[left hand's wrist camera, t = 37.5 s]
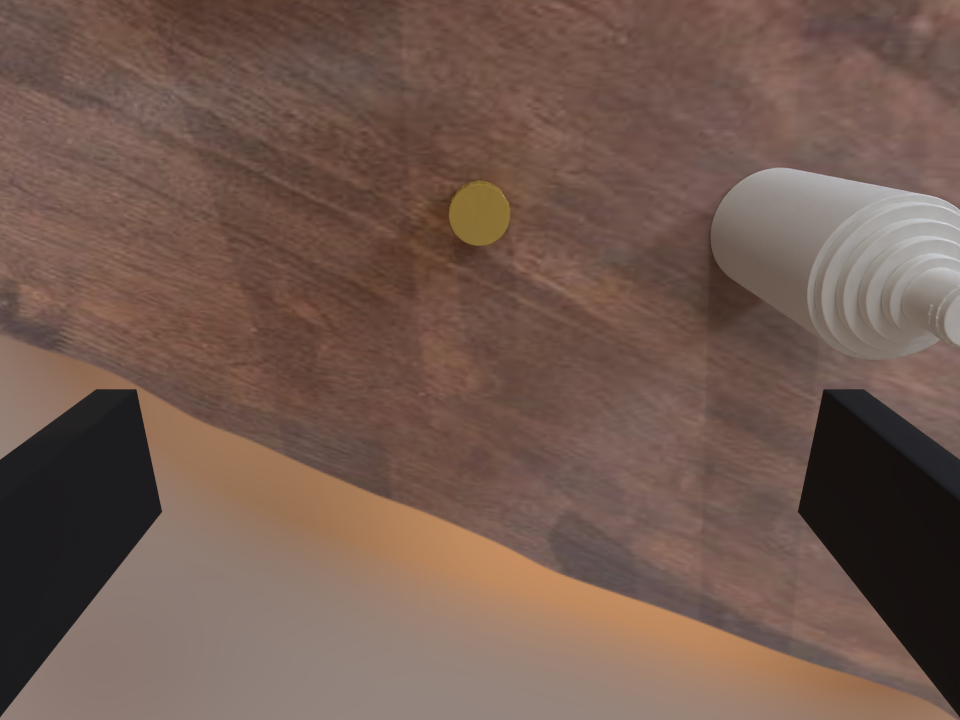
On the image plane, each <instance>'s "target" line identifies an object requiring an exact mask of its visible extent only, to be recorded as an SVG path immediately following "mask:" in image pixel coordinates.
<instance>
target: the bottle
mask: <svg viewBox="0 0 960 720" xmlns="http://www.w3.org/2000/svg"><path fill="white" fill-rule="evenodd" d="M710 239H711V248H712V252H713V255H714V258H715V260H716V262H717V264H718V266H719V267H720V268H721V270H722V271H723V272H724V273H725V274H726V275H727V276H728V277H730V278H731V279H732V280H734V281H735V282H737V283H738V284H740V285H741V286H743V287H744V288H746V289H747V290H749V291H750V292H752V293H753V294H755V295H756V296H757V297H759V298H760V299H762V300H763V301H765V302H766V303H768V304H769V305H771V306H772V307H774V308H775V309H777V310H778V311H780V312H781V313H783V314H784V315H785V316H787V317H788V318H790V319H791V320H793V321H794V322H796V323H797V324H799V325H800V326H802V327H803V328H805V329H806V330H808V331H809V332H811V333H812V334H813V335H815V336H816V337H818V338H819V339H821V340H822V341H824V342H825V343H827V344H828V345H830V346H831V347H833V348H834V349H836V350H838V351H840V352H841V353H843V354H846V355H849V356H852V357H856V358H860V359H870V360H878V359H888V358H897V357H903V356H907V355H910V354H914V353H916V352H919V351H921V350H924V349H926V348H928V347H929V346H931V345H933V344H935V343H936V342H938V341H939V340H941V341H943V342H946V343H948V344H949V345H952V346H955V347H959V348H960V210H959V209H958V208H956V207H955V206H953V205H952V204H950V203H948V202H947V201H944V200H942V199H939V198H937V197H932V196H928V195H923V194H918V193H913V192H908V191H903V190H898V189H893V188H887V187H882V186H877V185H872V184H867V183H862V182H857V181H851V180H846V179H841V178H836V177H831V176H826V175H821V174H815V173H810V172H805V171H800V170H795V169H790V168H772V169H766V170H763V171H759V172H757V173H754V174H752V175H750V176H748V177H746V178H745V179H743V180H742V181H740V182H739V183H738V184H736V185H735V186H734V187H733V188H732V189H731V190H730V191H729V192H728V193H727V195H726V196H725V197H724V198H723V200H722V201H721V203H720V205H719V206H718V208H717V211H716V213H715V215H714V218H713V221H712V226H711V234H710Z"/></svg>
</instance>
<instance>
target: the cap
mask: <svg viewBox="0 0 960 720" xmlns="http://www.w3.org/2000/svg"><path fill="white" fill-rule="evenodd" d="M451 201H452V202H451V204H450V206H449V215H448V217H449V221H450V225H451V227H452V230H453V232H454V233H455V234H456V235H457V236H458V237H459V238H460V239H461V240H462V241H464V242H465V243H468V244H470V245H474V246H485V245H489V244H491V243H493V242H495V241H497V240H498V239H499V238H500V237H501V236H502V235H503V234H504V233H505V231H506V229H507V227H508V224H509V222H510V213H511V212H510V209H509V202H508V201H507V199H506V196H505V194H503V192H502V191H501V189H500V188H498V187H497V186H495V185H494V183H489V182H486V180H485V181H478V180H477V181H473V182H471V181H470V182H469V183H467V184H465V185H462V187H461V188H460V189H459V190H457V191H456V193H455V195H454V197H452V199H451Z"/></svg>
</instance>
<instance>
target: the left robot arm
mask: <svg viewBox="0 0 960 720" xmlns="http://www.w3.org/2000/svg"><path fill="white" fill-rule="evenodd" d="M161 512H162V509H161V505H160V500H159V495H158V490H157V486H156V481H155V476H154V471H153V466H152V462H151V457H150V452H149V447H148V443H147V438H146V434H145V428H144V424H143V419H142V414H141V410H140V405H139V400H138V395H137V390H136V389H96V390H95V391H93V392H92V393H91V394H89V395H88V396H87V397H85V398H84V399H83V400H81V401H80V402H78V403H77V404H76V405H74V406H73V407H72V408H70V409H69V410H67V411H66V412H65V413H63V414H62V415H61V416H59V417H58V418H57V419H55V420H54V421H52V422H51V423H50V424H48V425H47V426H46V427H44V428H43V429H42V430H40V431H39V432H37V433H36V434H35V435H33V436H32V437H31V438H29V439H28V440H27V441H25V442H24V443H22V444H21V445H20V446H18V447H17V448H16V449H14V450H13V451H12V452H10V453H9V454H7V455H6V456H5V457H3V458H2V459H1V460H0V717H1V715H2V714H3V713H4V712H5V710H6V709H7V708H8V706H9V705H10V704H11V703H12V701H13V700H14V699H15V698H16V696H17V695H18V694H19V693H20V691H21V690H22V689H23V687H24V686H25V685H26V684H27V682H28V681H29V680H30V679H31V677H32V676H33V675H34V674H35V672H36V671H37V670H38V668H39V667H40V666H41V665H42V663H43V662H44V661H45V660H46V658H47V657H48V656H49V654H50V653H51V652H52V651H53V649H54V648H55V647H56V646H57V644H58V643H59V642H60V641H61V639H62V638H63V637H64V635H65V634H66V633H67V632H68V630H69V629H70V628H71V627H72V625H73V624H74V623H75V622H76V620H77V619H78V618H79V616H80V615H81V614H82V613H83V611H84V610H85V609H86V608H87V606H88V605H89V604H90V603H91V601H92V600H93V599H94V597H95V596H96V595H97V594H98V592H99V591H100V590H101V589H102V587H103V586H104V585H105V583H106V582H107V581H108V580H109V578H110V577H111V576H112V575H113V573H114V572H115V571H116V570H117V568H118V567H119V566H120V564H121V563H122V562H123V561H124V559H125V558H126V557H127V556H128V554H129V553H130V552H131V550H132V549H133V548H134V547H135V545H136V544H137V543H138V542H139V540H140V539H141V538H142V537H143V535H144V534H145V533H146V531H147V530H148V529H149V528H150V526H151V525H152V524H153V523H154V521H155V520H156V519H157V517H158V516H159V515H160V514H161ZM798 512H799V514H800V515H801V516H802V518H803V519H804V520H805V521H806V523H807V524H808V525H809V526H810V528H811V529H812V530H813V531H814V533H815V534H816V535H817V537H818V538H819V539H820V540H821V542H822V543H823V544H824V545H825V547H826V548H827V549H828V550H829V552H830V553H831V554H832V556H833V557H834V558H835V559H836V561H837V562H838V563H839V564H840V566H841V567H842V568H843V570H844V571H845V572H846V573H847V575H848V576H849V577H850V578H851V580H852V581H853V582H854V583H855V585H856V586H857V587H858V589H859V590H860V591H861V592H862V594H863V595H864V596H865V597H866V599H867V600H868V601H869V603H870V604H871V605H872V606H873V608H874V609H875V610H876V611H877V613H878V614H879V615H880V616H881V618H882V619H883V620H884V622H885V623H886V624H887V625H888V627H889V628H890V629H891V630H892V632H893V633H894V634H895V635H896V637H897V638H898V639H899V641H900V642H901V643H902V644H903V646H904V647H905V648H906V649H907V651H908V652H909V653H910V655H911V656H912V657H913V658H914V660H915V661H916V662H917V663H918V665H919V666H920V667H921V668H922V670H923V671H924V672H925V674H926V675H927V676H928V677H929V679H930V680H931V681H932V682H933V684H934V685H935V686H936V688H937V689H938V690H939V691H940V693H941V694H942V695H943V696H944V698H945V699H946V700H947V701H948V703H949V704H950V705H951V707H952V708H953V709H954V710H955V712H956V713H957V714H958V715H959V717H960V460H959V459H958V458H957V457H955V456H954V455H953V454H951V453H950V452H948V451H947V450H946V449H944V448H943V447H942V446H940V445H939V444H938V443H936V442H935V441H933V440H932V439H931V438H929V437H928V436H927V435H925V434H924V433H923V432H921V431H920V430H918V429H917V428H916V427H914V426H913V425H912V424H910V423H909V422H908V421H906V420H905V419H903V418H902V417H901V416H899V415H898V414H897V413H895V412H894V411H893V410H891V409H890V408H888V407H887V406H886V405H884V404H883V403H882V402H880V401H879V400H877V399H876V398H875V397H873V396H872V395H871V394H869V393H868V392H867V391H865V390H864V389H824V390H823V395H822V400H821V405H820V409H819V414H818V419H817V424H816V428H815V433H814V438H813V443H812V447H811V452H810V457H809V462H808V466H807V471H806V476H805V481H804V486H803V490H802V495H801V500H800V505H799V509H798Z"/></svg>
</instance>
